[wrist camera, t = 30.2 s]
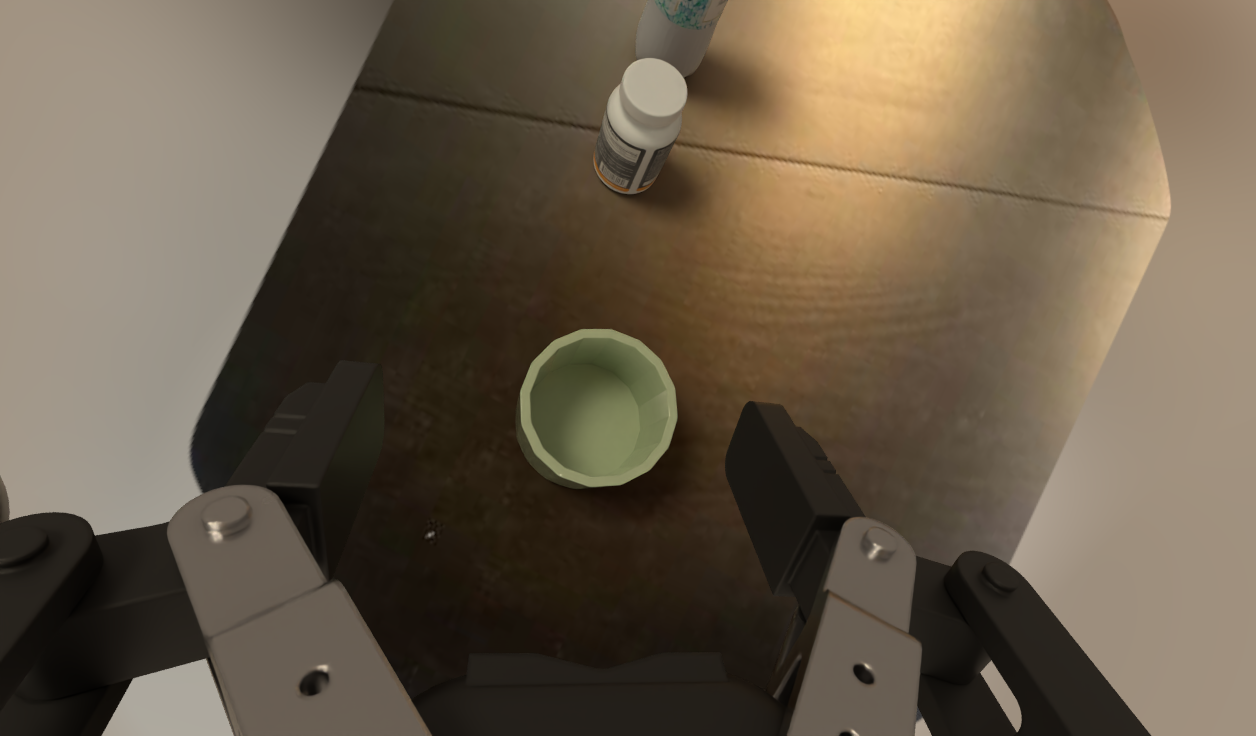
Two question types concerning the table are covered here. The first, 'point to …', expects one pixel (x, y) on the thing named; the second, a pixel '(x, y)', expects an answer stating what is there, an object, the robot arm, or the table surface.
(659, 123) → the pill bottle
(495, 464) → the table surface
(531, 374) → the green cup
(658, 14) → the bottle
